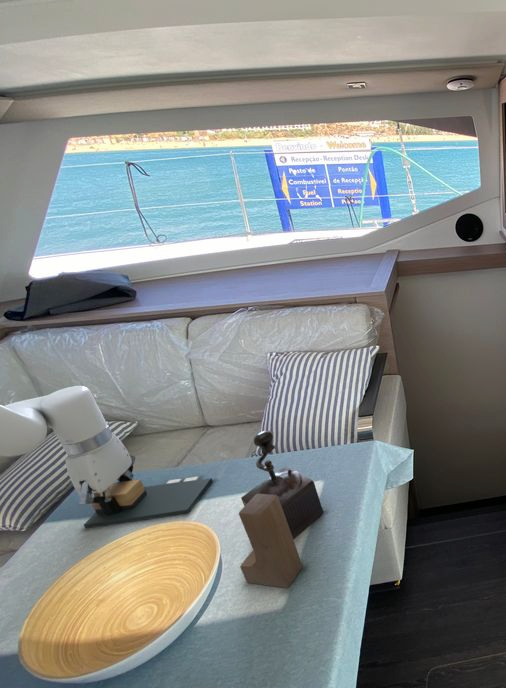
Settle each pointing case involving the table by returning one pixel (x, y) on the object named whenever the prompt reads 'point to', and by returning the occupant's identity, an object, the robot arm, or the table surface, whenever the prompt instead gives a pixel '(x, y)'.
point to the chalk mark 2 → (191, 479)
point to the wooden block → (269, 543)
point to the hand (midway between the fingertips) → (122, 502)
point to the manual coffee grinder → (287, 489)
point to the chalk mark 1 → (174, 481)
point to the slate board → (157, 503)
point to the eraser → (125, 494)
